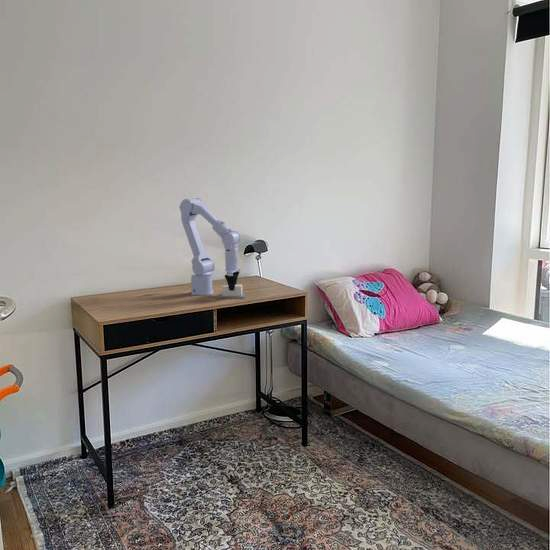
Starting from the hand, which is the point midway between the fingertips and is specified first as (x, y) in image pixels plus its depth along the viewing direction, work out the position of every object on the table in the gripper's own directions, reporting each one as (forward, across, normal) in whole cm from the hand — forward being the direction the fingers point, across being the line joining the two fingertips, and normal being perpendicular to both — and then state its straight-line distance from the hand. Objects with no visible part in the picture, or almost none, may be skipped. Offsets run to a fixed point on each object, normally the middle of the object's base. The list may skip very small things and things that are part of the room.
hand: (232, 289), depth 245 cm
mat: (+3, 0, 0) cm, 3 cm away
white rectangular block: (+3, 0, 0) cm, 3 cm away
